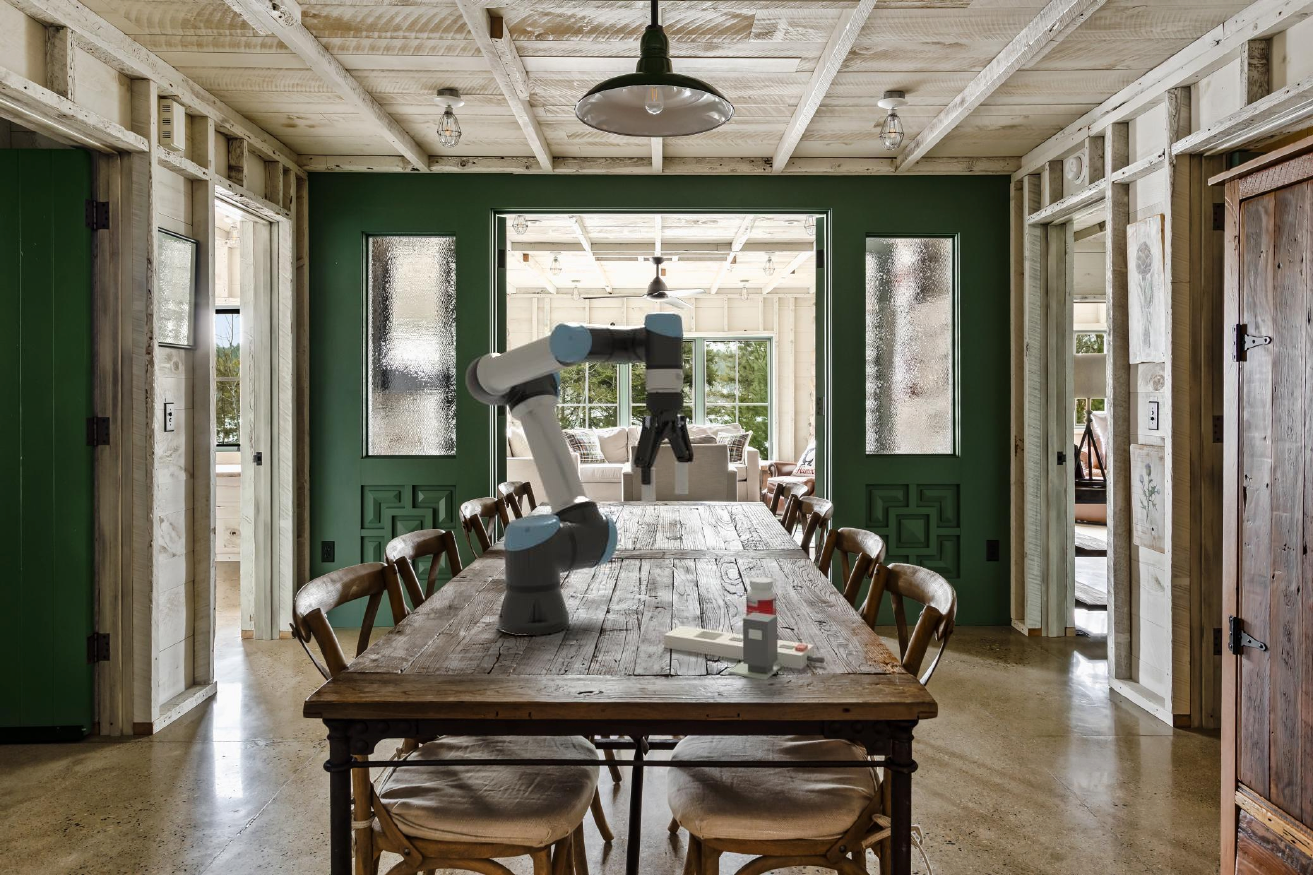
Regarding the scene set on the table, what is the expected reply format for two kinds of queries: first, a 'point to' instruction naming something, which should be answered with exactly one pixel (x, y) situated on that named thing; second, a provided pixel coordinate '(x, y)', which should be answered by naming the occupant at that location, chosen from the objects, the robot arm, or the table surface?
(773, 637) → the block
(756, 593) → the pill bottle
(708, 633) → the power strip
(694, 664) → the table surface
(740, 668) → the felt pad
